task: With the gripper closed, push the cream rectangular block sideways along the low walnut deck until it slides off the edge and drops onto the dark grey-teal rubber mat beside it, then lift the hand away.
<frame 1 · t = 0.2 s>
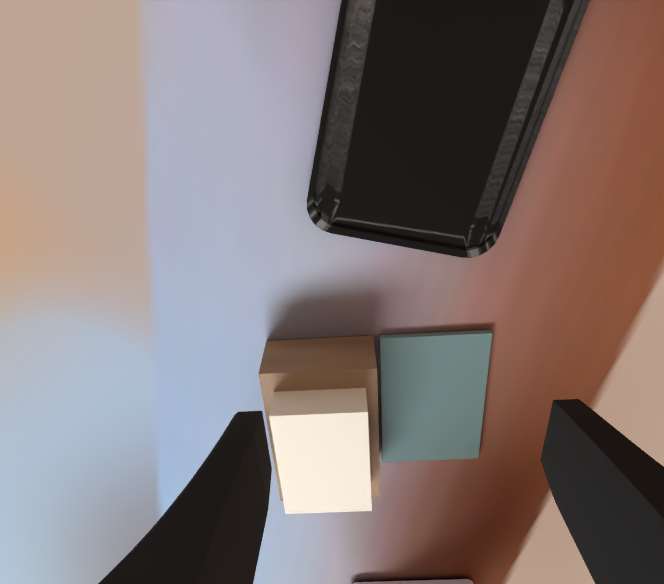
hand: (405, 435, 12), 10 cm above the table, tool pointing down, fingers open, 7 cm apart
phone: (448, 39, 17), on the table
mat: (431, 399, 24), on the table
cream rectangular block: (324, 440, 22), point 2 cm above the table, touching deck
deck: (325, 403, 24), on the table
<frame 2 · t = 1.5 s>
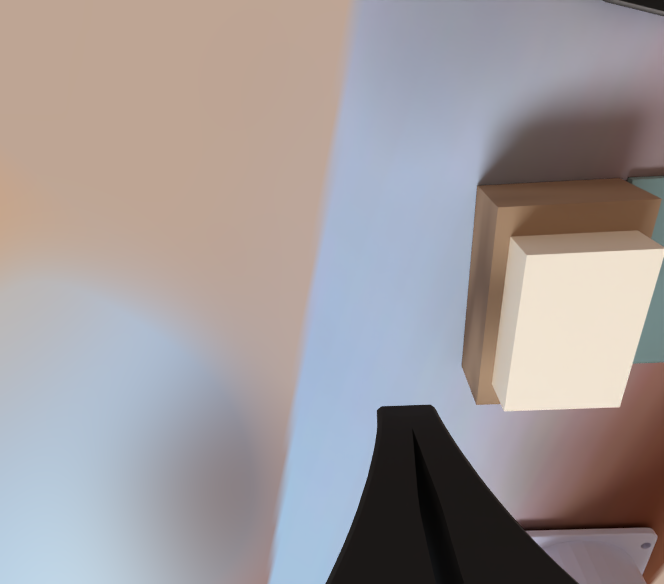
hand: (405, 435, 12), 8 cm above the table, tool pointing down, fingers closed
cream rectangular block: (558, 314, 17), point 2 cm above the table, touching deck
deck: (532, 281, 19), on the table
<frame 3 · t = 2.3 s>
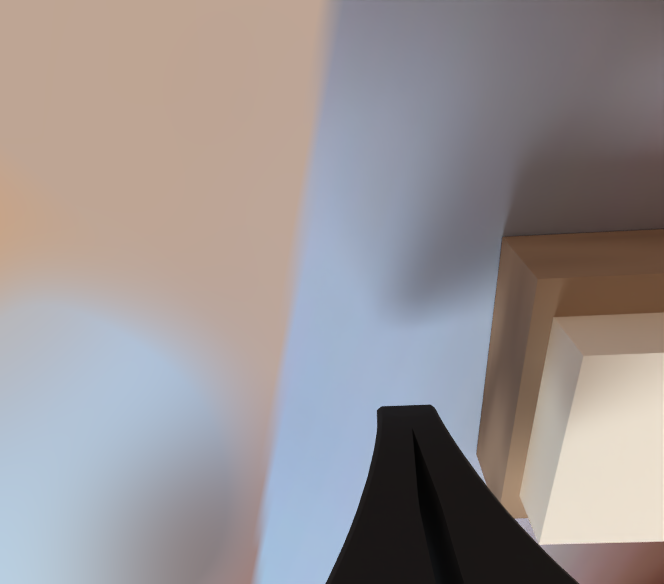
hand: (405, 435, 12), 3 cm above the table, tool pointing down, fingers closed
cream rectangular block: (613, 413, 12), point 2 cm above the table, touching deck
deck: (571, 356, 14), on the table
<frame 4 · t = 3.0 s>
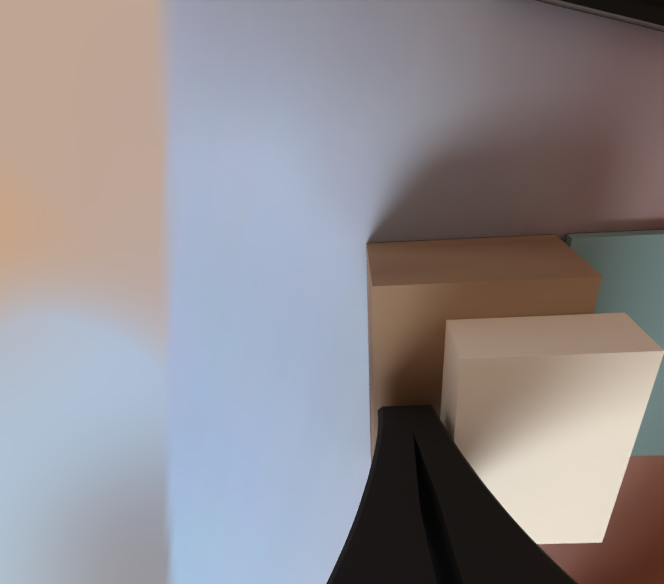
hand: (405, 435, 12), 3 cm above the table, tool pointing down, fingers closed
mat: (629, 354, 14), on the table
cream rectangular block: (518, 416, 12), point 3 cm above the table, touching gripper
deck: (450, 361, 15), on the table
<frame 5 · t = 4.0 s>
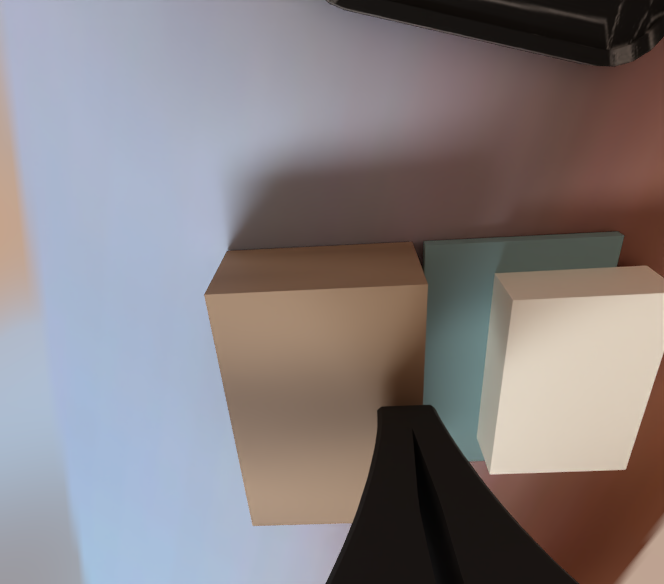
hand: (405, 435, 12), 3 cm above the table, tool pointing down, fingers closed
mat: (503, 359, 14), on the table
cream rectangular block: (575, 393, 13), point 2 cm above the table, tilted 180°, touching mat
deck: (328, 366, 15), on the table
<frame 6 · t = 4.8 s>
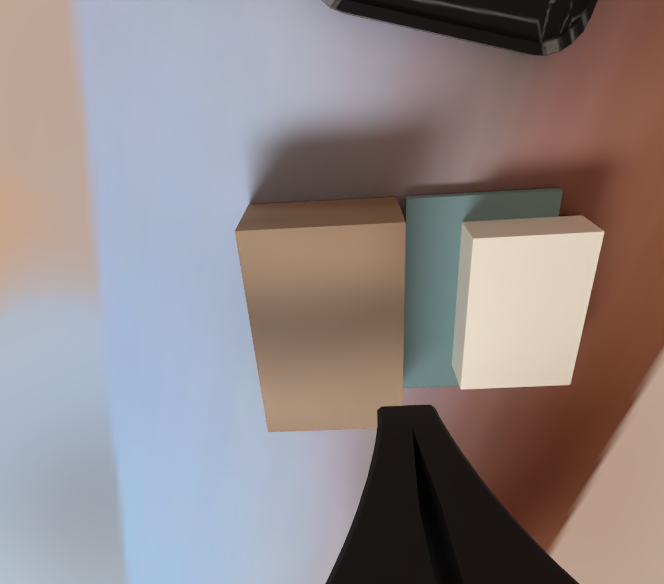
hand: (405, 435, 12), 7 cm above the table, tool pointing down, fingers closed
mat: (472, 296, 18), on the table
cream rectangular block: (525, 317, 16), point 2 cm above the table, tilted 180°, touching mat
deck: (329, 303, 18), on the table
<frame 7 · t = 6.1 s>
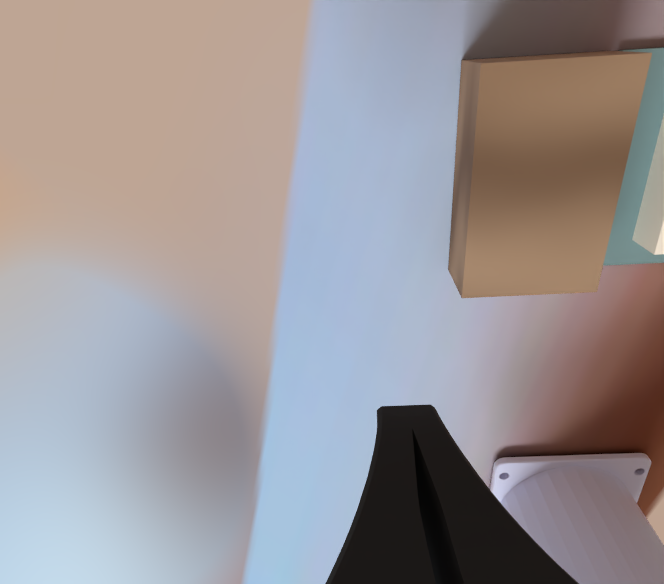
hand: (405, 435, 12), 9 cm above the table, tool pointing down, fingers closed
mat: (663, 164, 18), on the table
deck: (520, 172, 18), on the table
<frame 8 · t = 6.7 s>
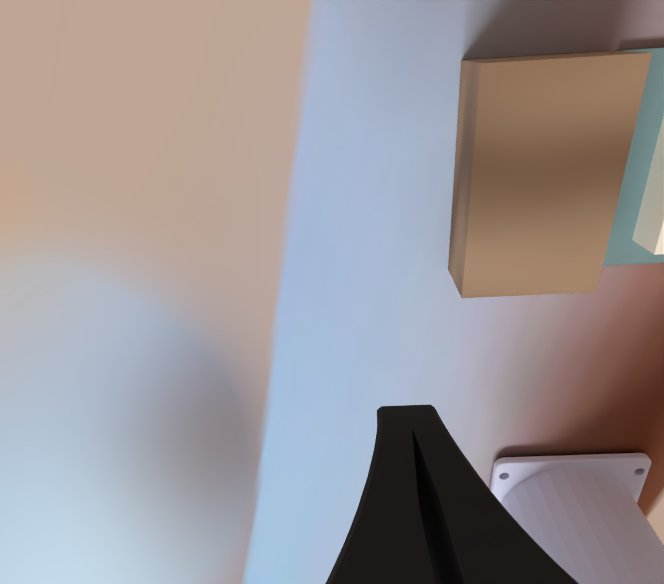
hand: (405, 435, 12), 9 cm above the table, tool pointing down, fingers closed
mat: (663, 164, 18), on the table
deck: (520, 172, 18), on the table
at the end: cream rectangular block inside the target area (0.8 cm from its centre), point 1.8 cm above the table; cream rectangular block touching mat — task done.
